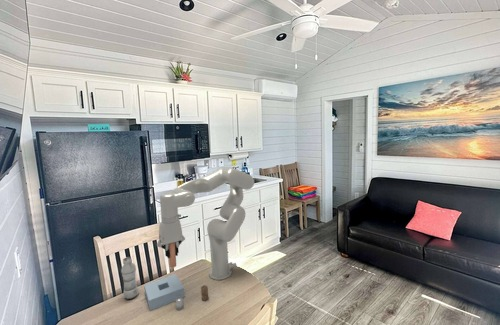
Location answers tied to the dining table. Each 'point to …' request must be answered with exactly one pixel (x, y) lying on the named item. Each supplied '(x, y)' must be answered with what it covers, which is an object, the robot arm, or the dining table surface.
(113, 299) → the dining table surface
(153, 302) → the hole block
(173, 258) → the long pin
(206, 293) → the mid pin
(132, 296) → the plastic bottle
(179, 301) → the short pin
